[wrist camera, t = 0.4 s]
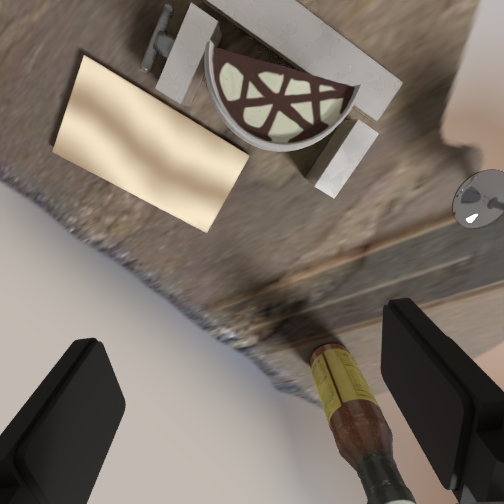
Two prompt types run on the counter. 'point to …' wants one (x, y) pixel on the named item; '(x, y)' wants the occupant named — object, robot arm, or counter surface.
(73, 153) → the light wood flat board
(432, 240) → the counter surface
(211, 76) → the food container
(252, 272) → the counter surface
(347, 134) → the vise
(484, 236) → the counter surface
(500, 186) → the wine glass
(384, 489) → the sauce bottle
